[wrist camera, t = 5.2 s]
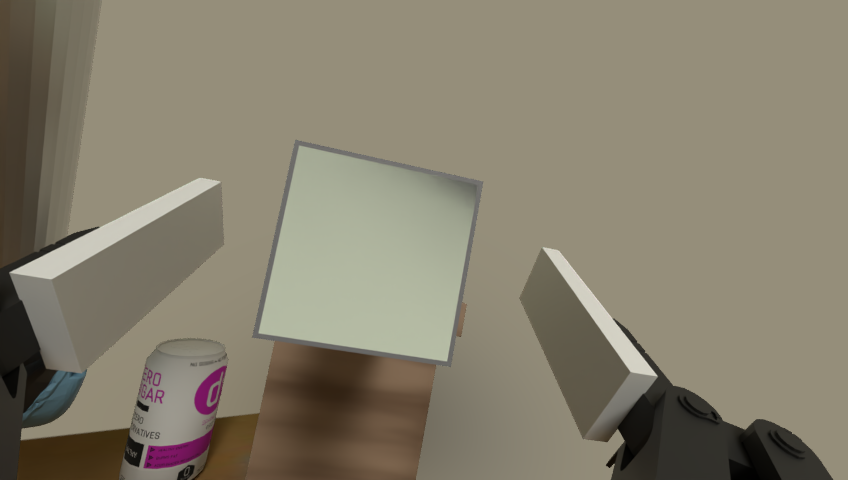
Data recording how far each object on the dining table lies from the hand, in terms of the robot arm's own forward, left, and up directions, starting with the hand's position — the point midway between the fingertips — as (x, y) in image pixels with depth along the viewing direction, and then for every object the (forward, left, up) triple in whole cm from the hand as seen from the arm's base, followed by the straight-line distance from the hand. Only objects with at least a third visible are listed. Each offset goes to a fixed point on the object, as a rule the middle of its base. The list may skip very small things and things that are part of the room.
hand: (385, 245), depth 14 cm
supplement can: (-36, +7, -31) cm, 48 cm away
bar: (-6, +6, -2) cm, 9 cm away
